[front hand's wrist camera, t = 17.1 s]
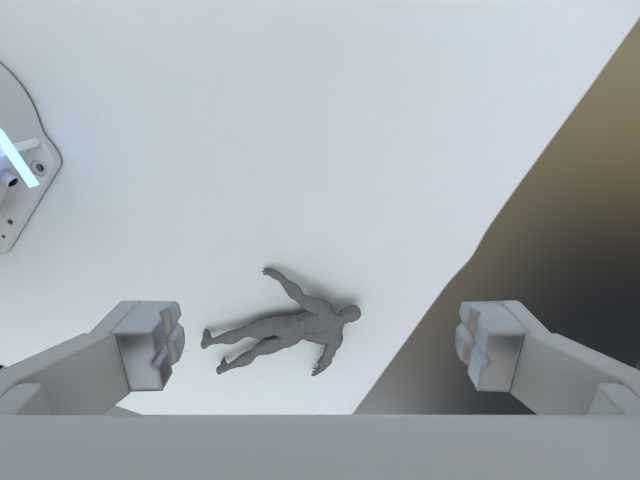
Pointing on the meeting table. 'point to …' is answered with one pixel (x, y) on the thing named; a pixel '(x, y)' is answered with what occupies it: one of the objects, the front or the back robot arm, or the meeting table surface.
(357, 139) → the meeting table surface
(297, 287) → the figurine
